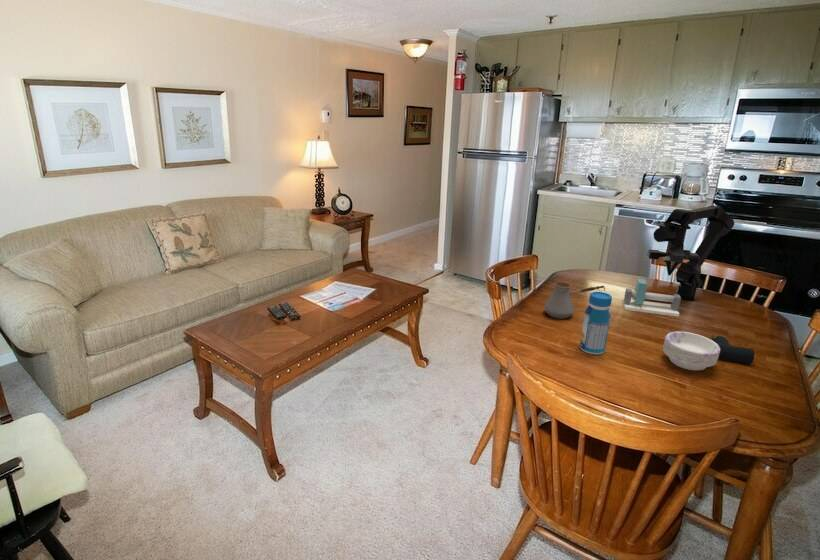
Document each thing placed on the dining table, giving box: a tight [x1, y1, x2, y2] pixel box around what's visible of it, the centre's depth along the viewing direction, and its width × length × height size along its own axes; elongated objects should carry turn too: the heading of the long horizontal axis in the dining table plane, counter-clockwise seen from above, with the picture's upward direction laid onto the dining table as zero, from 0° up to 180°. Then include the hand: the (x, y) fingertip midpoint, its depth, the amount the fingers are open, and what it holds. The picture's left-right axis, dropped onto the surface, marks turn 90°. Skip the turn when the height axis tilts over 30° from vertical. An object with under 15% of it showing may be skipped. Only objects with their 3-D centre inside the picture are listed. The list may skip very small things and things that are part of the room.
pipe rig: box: [622, 288, 682, 318], centre depth 188 cm, size 20×10×7 cm, turn 71°
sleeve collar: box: [633, 278, 648, 305], centre depth 188 cm, size 3×6×9 cm, turn 161°
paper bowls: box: [662, 331, 720, 371], centre depth 145 cm, size 15×15×8 cm
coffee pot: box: [544, 281, 606, 319], centre depth 177 cm, size 21×12×15 cm, turn 64°
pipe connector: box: [709, 333, 755, 365], centre depth 152 cm, size 12×5×15 cm
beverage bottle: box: [579, 291, 613, 355], centre depth 151 cm, size 8×8×20 cm
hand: (669, 275), depth 193 cm, fingers closed
